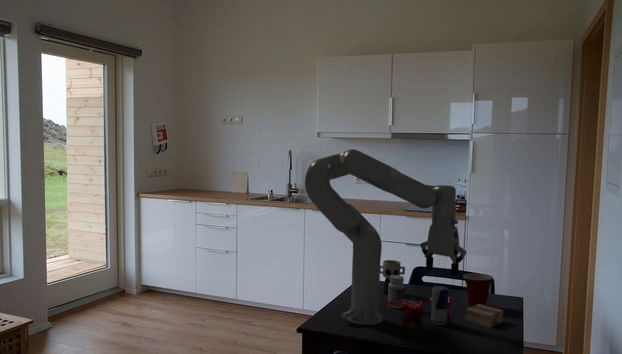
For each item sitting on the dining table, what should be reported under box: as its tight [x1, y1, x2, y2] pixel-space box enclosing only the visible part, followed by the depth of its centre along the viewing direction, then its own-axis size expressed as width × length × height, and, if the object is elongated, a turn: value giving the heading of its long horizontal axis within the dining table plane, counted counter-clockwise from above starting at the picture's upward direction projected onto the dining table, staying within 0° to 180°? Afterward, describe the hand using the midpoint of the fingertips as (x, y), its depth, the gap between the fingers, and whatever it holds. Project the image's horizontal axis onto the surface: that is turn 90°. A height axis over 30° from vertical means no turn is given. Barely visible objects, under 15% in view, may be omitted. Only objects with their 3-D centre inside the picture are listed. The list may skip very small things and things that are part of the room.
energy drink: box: [430, 285, 449, 326], centre depth 163 cm, size 5×5×12 cm
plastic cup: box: [462, 273, 494, 308], centre depth 182 cm, size 11×11×12 cm
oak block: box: [465, 304, 504, 328], centre depth 166 cm, size 9×9×4 cm
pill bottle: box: [387, 274, 406, 310], centre depth 179 cm, size 6×6×11 cm
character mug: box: [380, 259, 406, 294], centre depth 196 cm, size 11×7×13 cm, turn 86°
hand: (441, 271), depth 162 cm, fingers open, 9 cm apart
